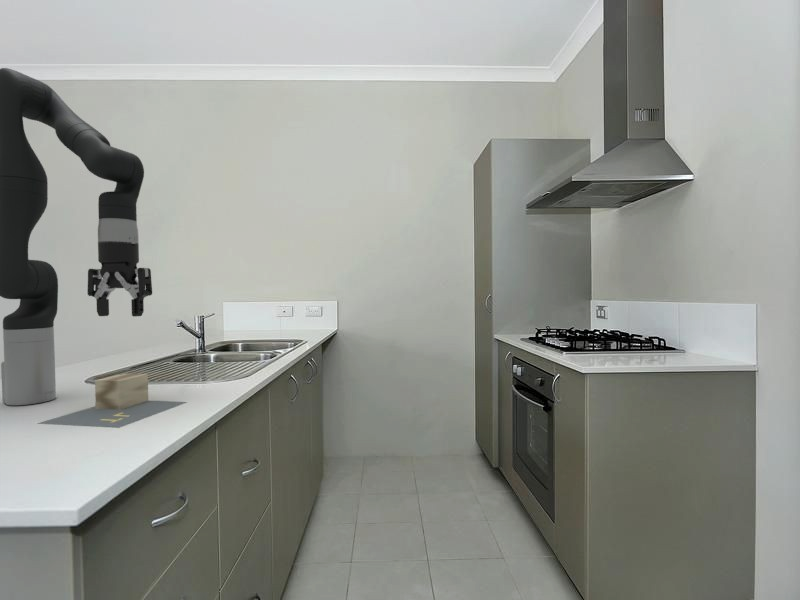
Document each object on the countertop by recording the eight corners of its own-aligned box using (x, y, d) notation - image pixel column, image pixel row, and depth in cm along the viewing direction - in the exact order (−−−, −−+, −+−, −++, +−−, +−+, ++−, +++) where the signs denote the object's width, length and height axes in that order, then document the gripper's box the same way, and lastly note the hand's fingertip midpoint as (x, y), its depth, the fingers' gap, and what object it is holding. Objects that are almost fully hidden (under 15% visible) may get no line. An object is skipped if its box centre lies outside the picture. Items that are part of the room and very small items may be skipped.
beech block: (95, 408, 96) (94, 380, 96) (125, 399, 104) (124, 373, 104) (120, 409, 95) (119, 381, 95) (148, 400, 103) (147, 374, 103)
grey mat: (37, 425, 86) (37, 423, 86) (118, 401, 105) (118, 399, 105) (118, 430, 82) (118, 427, 82) (187, 404, 101) (187, 401, 101)
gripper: (75, 240, 97) (77, 317, 97) (133, 238, 94) (135, 317, 94) (105, 244, 104) (106, 315, 104) (159, 242, 101) (161, 315, 101)
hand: (120, 316), depth 99 cm, fingers open, 8 cm apart
